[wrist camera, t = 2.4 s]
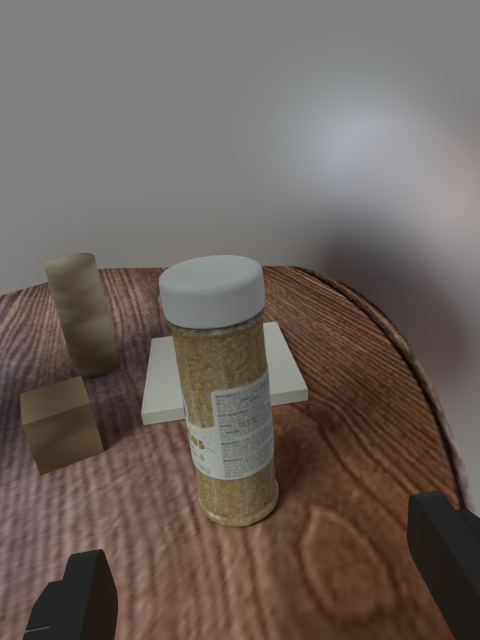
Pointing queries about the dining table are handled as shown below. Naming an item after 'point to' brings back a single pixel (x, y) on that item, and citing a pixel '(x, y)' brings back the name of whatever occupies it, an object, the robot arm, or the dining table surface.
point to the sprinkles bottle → (224, 383)
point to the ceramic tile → (165, 382)
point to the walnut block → (59, 424)
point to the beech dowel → (83, 314)
